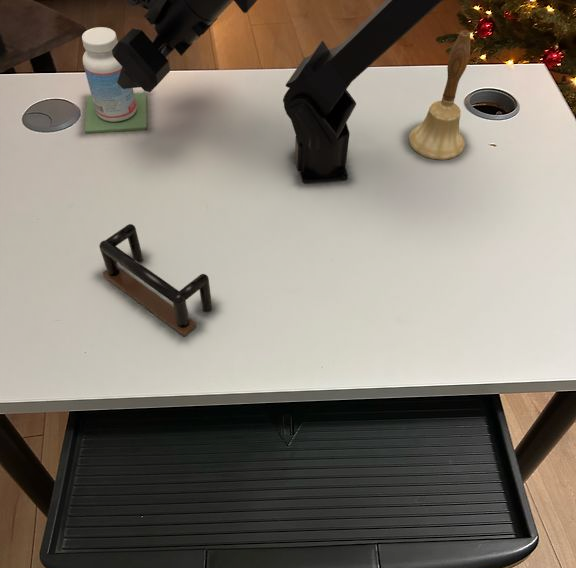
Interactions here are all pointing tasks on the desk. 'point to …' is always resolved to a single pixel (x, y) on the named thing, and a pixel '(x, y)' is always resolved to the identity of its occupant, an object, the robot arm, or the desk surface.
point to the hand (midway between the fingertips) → (137, 68)
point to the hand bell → (444, 111)
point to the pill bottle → (106, 76)
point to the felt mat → (133, 123)
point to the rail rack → (151, 282)
